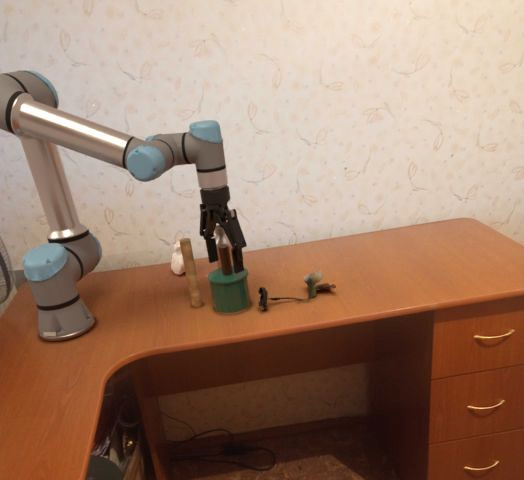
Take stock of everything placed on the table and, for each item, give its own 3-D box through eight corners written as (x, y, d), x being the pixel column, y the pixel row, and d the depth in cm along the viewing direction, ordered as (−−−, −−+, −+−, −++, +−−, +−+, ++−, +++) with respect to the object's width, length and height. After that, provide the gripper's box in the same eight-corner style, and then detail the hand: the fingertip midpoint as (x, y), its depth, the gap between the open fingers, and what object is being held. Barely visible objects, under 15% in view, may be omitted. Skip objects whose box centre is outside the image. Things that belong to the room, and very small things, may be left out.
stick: (190, 306, 156) (177, 240, 146) (197, 302, 158) (185, 237, 148) (196, 308, 154) (184, 242, 144) (204, 304, 156) (192, 238, 146)
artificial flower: (255, 308, 153) (253, 273, 150) (329, 301, 157) (328, 267, 155) (262, 312, 144) (260, 275, 142) (340, 305, 149) (339, 269, 146)
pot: (207, 309, 153) (201, 278, 148) (232, 295, 159) (228, 266, 154) (232, 318, 146) (227, 286, 141) (258, 303, 152) (254, 272, 148)
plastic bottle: (238, 294, 159) (229, 229, 149) (217, 294, 161) (206, 230, 151) (243, 285, 165) (235, 222, 155) (223, 285, 166) (212, 223, 156)
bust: (187, 282, 178) (203, 252, 175) (167, 273, 174) (182, 243, 171) (180, 271, 188) (194, 242, 185) (161, 262, 184) (175, 233, 181)
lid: (199, 281, 148) (193, 249, 144) (228, 267, 155) (224, 236, 150) (227, 289, 141) (222, 256, 136) (257, 274, 148) (253, 242, 143)
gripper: (254, 188, 129) (263, 272, 140) (201, 178, 146) (213, 253, 157) (228, 196, 125) (240, 281, 136) (177, 184, 142) (192, 261, 153)
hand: (226, 266), depth 146 cm, fingers open, 12 cm apart
